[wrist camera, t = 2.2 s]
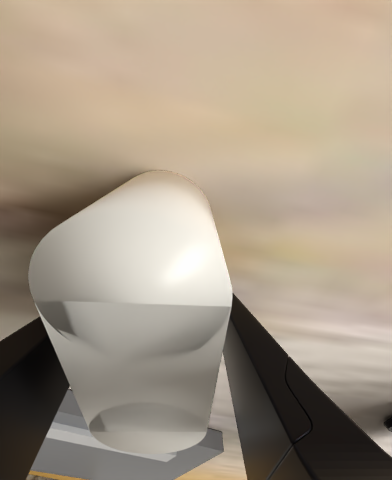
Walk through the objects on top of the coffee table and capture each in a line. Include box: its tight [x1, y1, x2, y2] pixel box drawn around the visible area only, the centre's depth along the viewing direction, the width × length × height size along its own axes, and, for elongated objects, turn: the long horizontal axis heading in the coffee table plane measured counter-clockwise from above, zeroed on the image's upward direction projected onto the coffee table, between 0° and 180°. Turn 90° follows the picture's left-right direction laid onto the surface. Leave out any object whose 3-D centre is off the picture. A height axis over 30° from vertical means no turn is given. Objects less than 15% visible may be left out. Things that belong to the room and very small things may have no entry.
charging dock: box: [30, 390, 224, 480], centre depth 16 cm, size 19×12×2 cm, turn 57°
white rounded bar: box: [28, 170, 232, 454], centre depth 8 cm, size 4×12×4 cm, turn 176°
